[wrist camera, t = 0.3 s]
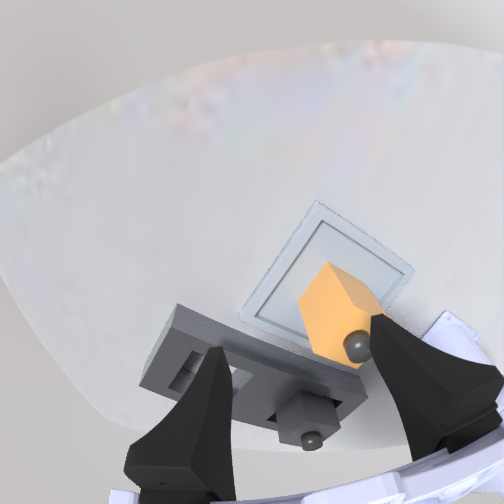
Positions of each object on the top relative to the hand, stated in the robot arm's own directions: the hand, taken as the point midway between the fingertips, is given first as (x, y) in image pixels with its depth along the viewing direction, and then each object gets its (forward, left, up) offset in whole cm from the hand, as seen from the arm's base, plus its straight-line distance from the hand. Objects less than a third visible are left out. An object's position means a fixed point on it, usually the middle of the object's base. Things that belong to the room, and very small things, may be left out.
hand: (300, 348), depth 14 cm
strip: (-5, +11, -10) cm, 16 cm away
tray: (-5, 0, -10) cm, 11 cm away
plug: (-5, 0, -9) cm, 11 cm away
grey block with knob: (-10, +11, -10) cm, 18 cm away
